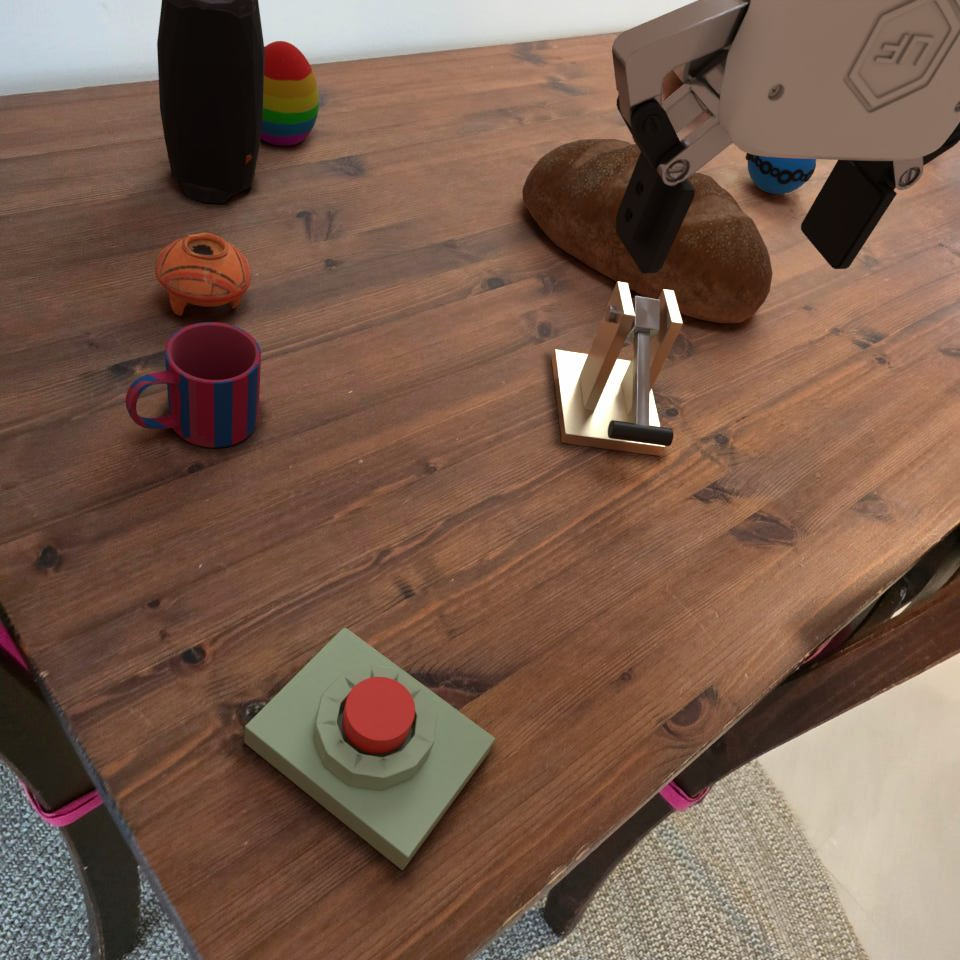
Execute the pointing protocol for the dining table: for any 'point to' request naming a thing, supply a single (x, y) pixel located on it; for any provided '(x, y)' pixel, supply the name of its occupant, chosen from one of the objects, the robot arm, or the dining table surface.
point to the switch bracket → (610, 376)
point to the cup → (206, 385)
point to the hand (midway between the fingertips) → (732, 251)
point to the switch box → (357, 774)
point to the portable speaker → (211, 94)
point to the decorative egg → (288, 95)
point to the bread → (694, 253)
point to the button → (378, 715)
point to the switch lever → (642, 378)
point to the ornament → (779, 172)
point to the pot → (202, 272)
